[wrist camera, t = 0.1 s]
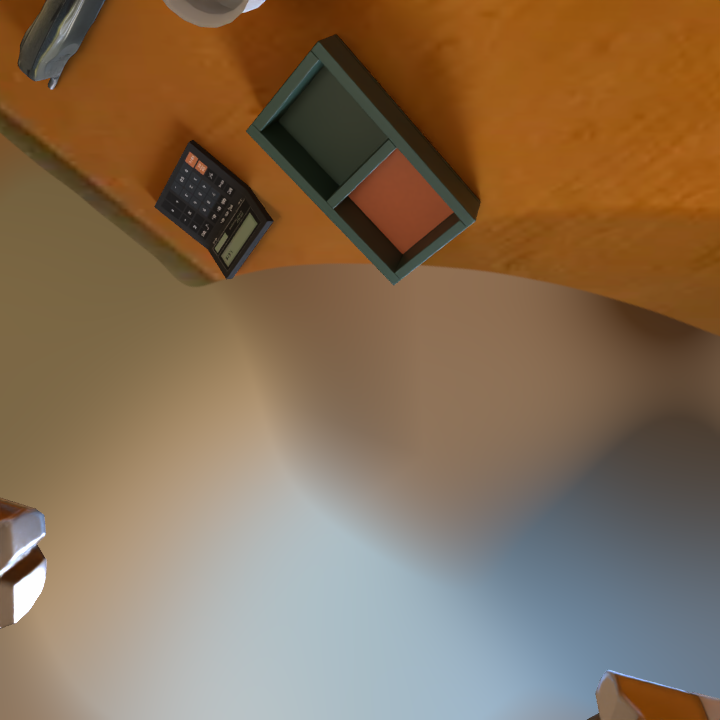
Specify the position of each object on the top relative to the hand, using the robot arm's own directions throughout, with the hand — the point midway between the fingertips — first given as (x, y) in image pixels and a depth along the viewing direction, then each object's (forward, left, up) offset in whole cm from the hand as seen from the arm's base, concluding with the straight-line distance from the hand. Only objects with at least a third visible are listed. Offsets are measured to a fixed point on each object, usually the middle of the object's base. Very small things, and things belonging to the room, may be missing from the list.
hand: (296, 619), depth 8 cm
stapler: (+27, -31, -52) cm, 67 cm away
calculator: (+31, -10, -52) cm, 62 cm away
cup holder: (+14, -2, -52) cm, 54 cm away
